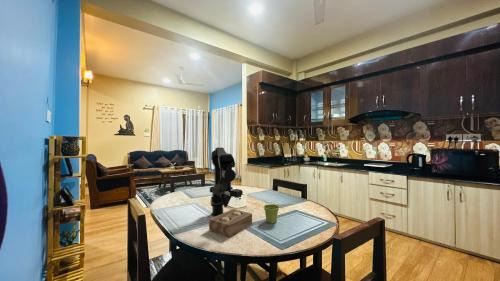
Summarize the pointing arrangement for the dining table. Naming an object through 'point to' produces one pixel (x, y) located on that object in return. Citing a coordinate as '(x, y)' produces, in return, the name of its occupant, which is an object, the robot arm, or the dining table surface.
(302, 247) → the dining table surface
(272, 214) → the plant pot
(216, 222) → the jig block
